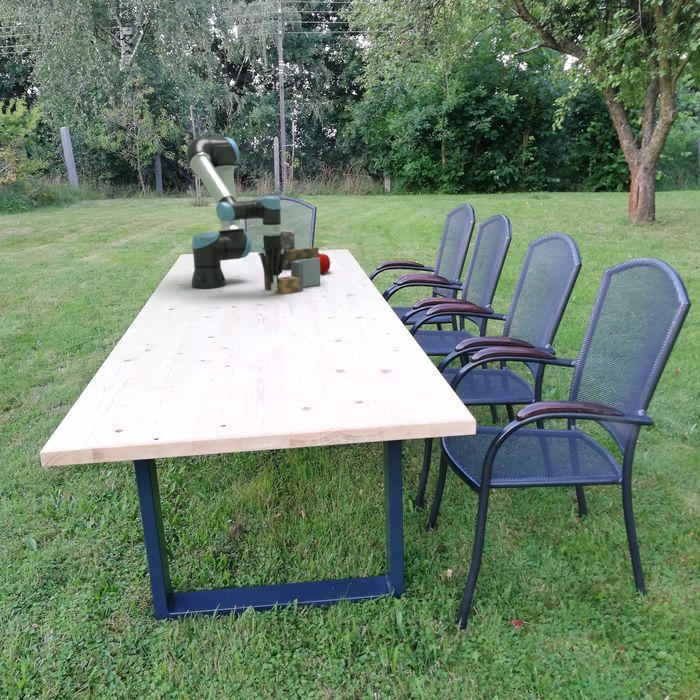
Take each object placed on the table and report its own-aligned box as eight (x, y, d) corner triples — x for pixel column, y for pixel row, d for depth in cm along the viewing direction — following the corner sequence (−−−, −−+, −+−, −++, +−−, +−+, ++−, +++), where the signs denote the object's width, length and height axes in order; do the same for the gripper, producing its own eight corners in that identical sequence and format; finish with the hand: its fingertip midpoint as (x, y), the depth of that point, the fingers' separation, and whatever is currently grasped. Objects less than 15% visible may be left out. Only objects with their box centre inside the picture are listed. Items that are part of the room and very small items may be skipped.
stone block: (269, 270, 321) (267, 231, 315) (269, 268, 328) (268, 229, 322) (295, 270, 322) (294, 230, 316) (295, 267, 329) (294, 228, 323)
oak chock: (292, 289, 278) (291, 275, 276) (299, 291, 274) (299, 277, 272) (274, 292, 273) (274, 278, 271) (282, 294, 268) (281, 280, 267)
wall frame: (267, 290, 277) (265, 253, 272) (264, 289, 278) (263, 253, 273) (319, 282, 293) (318, 247, 288) (316, 281, 295) (315, 247, 290)
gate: (299, 290, 274) (298, 263, 270) (291, 288, 279) (290, 261, 275) (327, 286, 283) (326, 259, 279) (318, 283, 288) (318, 257, 284)
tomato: (336, 273, 315) (335, 252, 312) (317, 276, 306) (316, 255, 303) (320, 270, 322) (320, 250, 319) (301, 273, 314) (301, 252, 311)
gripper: (263, 236, 255) (265, 293, 262) (290, 234, 263) (291, 289, 270) (253, 234, 261) (256, 290, 268) (280, 232, 269) (282, 287, 276)
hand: (274, 290), depth 269 cm, fingers closed
